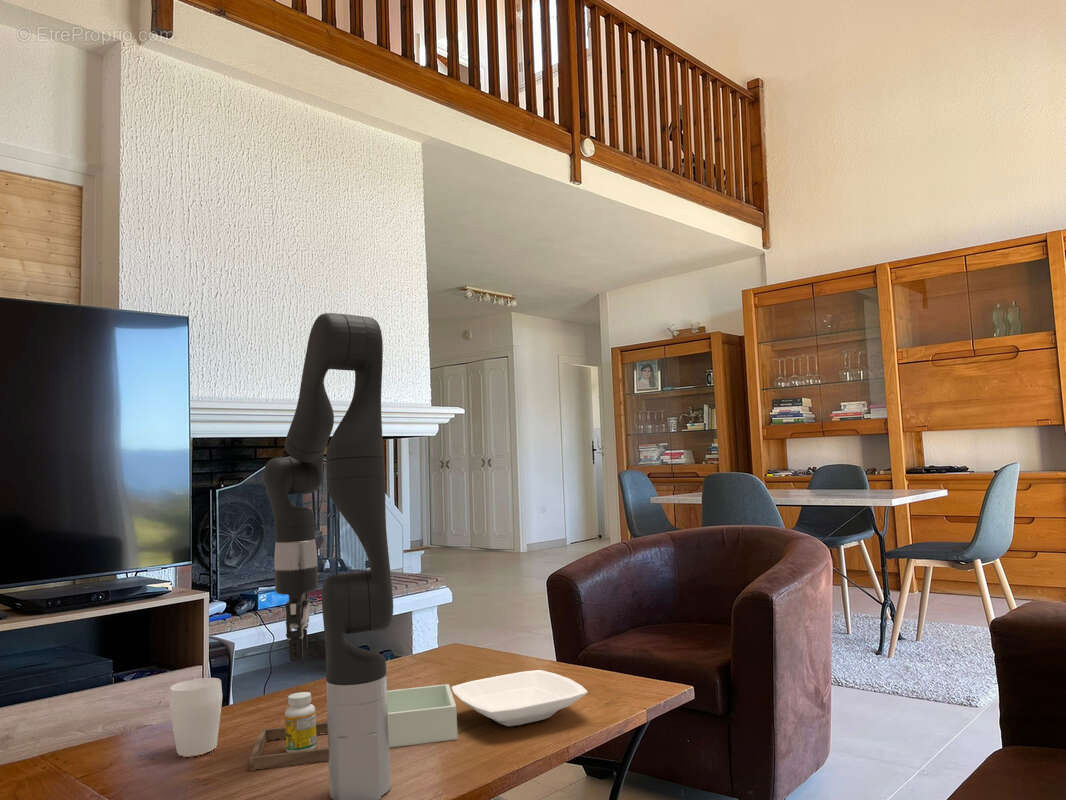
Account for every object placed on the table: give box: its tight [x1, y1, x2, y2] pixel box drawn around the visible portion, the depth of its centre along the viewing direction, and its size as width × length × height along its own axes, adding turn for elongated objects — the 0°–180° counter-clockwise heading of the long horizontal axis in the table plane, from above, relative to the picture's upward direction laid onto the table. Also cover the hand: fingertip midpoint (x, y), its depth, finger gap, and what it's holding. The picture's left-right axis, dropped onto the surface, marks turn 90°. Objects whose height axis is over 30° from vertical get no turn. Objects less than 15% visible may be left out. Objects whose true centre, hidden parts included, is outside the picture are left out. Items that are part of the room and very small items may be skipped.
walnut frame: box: [248, 721, 329, 771], centre depth 142 cm, size 16×16×2 cm
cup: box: [168, 677, 223, 756], centre depth 144 cm, size 9×9×12 cm
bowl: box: [451, 669, 589, 727], centre depth 153 cm, size 22×23×6 cm
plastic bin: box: [387, 683, 459, 749], centre depth 149 cm, size 16×16×6 cm
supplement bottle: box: [284, 691, 318, 753], centre depth 142 cm, size 5×5×10 cm
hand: (298, 655), depth 143 cm, fingers open, 8 cm apart
